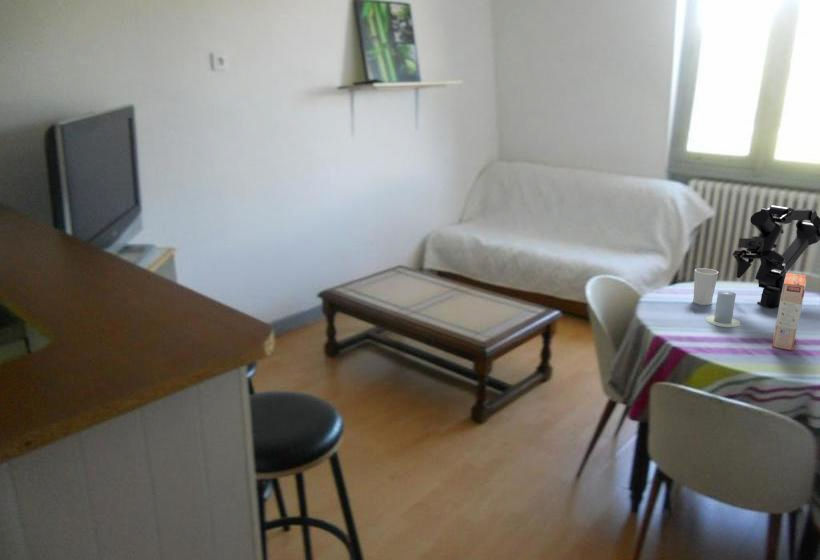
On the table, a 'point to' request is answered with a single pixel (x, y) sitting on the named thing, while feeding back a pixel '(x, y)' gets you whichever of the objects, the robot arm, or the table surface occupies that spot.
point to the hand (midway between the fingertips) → (746, 278)
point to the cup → (704, 285)
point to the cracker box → (789, 311)
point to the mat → (711, 320)
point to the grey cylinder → (724, 307)
